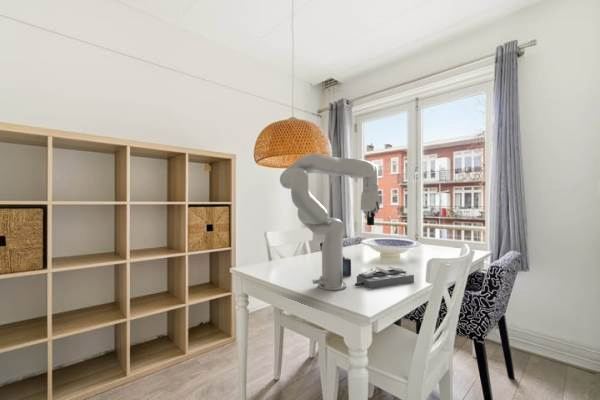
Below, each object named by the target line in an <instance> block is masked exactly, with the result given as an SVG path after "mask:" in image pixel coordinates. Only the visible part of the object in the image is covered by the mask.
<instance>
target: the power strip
mask: <svg viewBox="0 0 600 400" xmlns="http://www.w3.org/2000/svg"><path fill="white" fill-rule="evenodd" d="M385 270H386V271H389V272H390V273H387V274H386V273H384V272H381V271H379V270H376V273H374V274H372V275H370V276H364V275H362V273H358V275H356V282H355V283H354V286H355V287H358V286H362V287H364V288H366V289H369V290H374V289H381V288H385V287H392V286H396V285H397V286H398V285H404V284H405V285H406V284H411V283H414V282H415V274H413V273H409V272H407V270H404V269H403V271H396V270H392V269H385Z"/></svg>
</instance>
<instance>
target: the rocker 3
mask: <svg viewBox="0 0 600 400" xmlns="http://www.w3.org/2000/svg"><path fill="white" fill-rule="evenodd" d="M387 268H388V270H391V269H392V270H396V271H403V270H404V269H403V268H401V267H400V268H399V267H396V266H392V265H388V267H387Z"/></svg>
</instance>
